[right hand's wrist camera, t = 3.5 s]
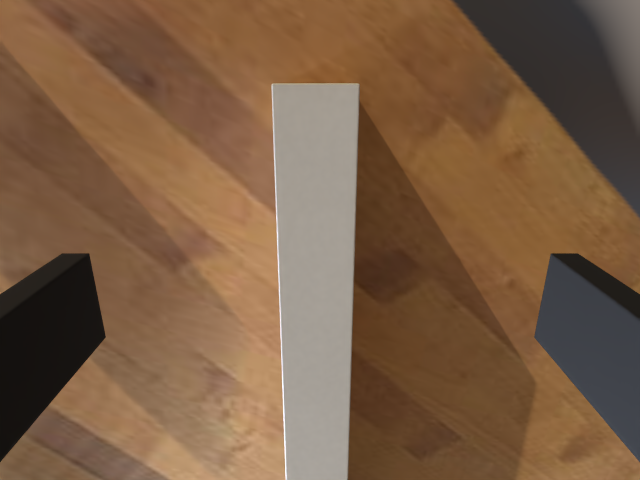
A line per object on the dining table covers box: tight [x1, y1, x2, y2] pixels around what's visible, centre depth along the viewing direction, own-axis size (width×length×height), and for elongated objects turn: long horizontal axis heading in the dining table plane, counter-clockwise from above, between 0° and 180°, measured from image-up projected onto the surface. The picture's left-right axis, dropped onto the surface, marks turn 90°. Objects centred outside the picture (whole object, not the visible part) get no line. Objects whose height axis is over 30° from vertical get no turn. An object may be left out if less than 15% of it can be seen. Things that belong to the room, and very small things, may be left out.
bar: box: [272, 83, 360, 480], centre depth 37 cm, size 54×5×8 cm, turn 0°
